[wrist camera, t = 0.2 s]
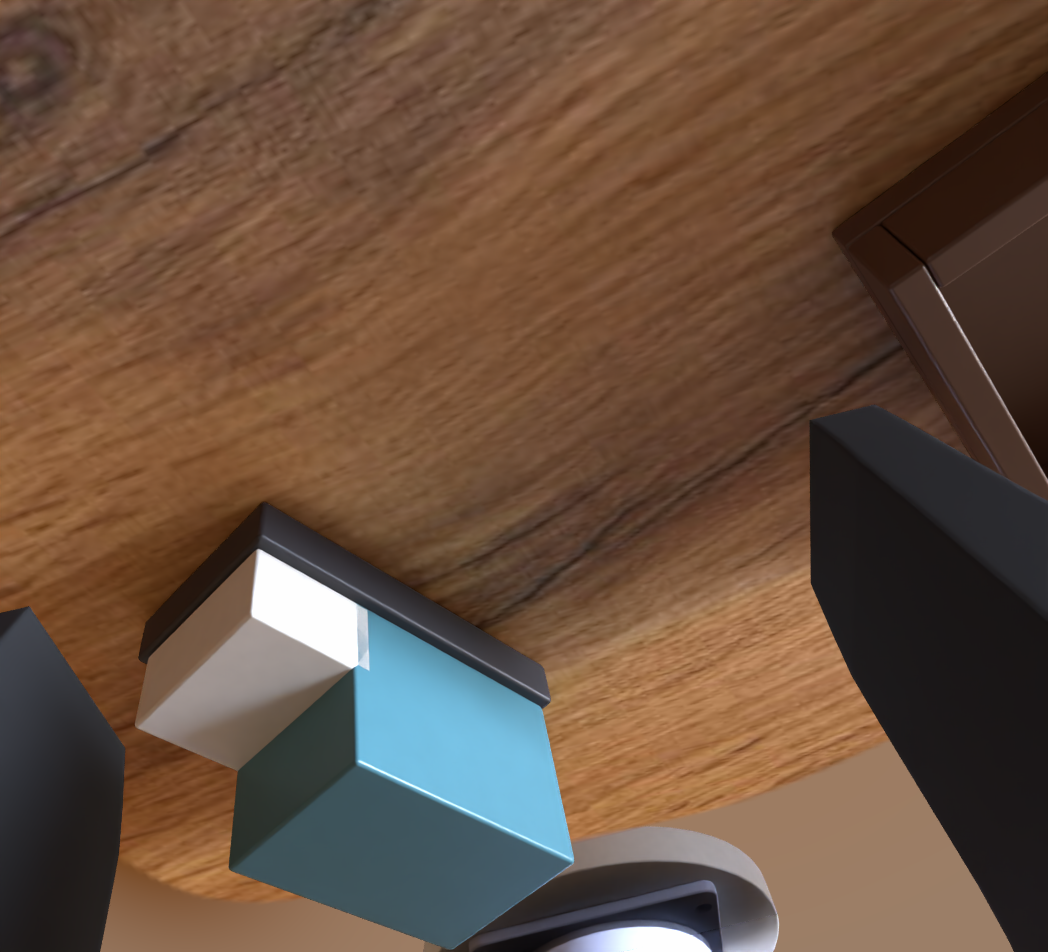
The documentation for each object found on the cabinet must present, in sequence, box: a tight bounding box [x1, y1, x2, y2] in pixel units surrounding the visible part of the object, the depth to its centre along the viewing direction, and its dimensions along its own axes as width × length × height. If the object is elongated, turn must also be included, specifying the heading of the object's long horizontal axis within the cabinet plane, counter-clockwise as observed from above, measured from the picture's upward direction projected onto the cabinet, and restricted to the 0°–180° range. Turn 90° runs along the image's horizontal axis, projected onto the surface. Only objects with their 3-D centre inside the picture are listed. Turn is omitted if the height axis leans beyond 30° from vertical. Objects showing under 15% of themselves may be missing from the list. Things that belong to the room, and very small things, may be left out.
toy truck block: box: [135, 502, 574, 950], centre depth 18 cm, size 7×4×4 cm, turn 45°
